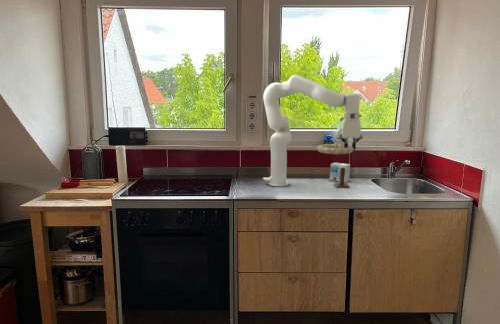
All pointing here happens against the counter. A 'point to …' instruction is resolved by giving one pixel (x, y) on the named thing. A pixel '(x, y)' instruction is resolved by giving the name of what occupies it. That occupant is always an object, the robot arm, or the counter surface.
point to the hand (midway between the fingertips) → (349, 150)
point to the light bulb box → (336, 169)
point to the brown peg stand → (342, 180)
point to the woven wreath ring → (334, 149)
